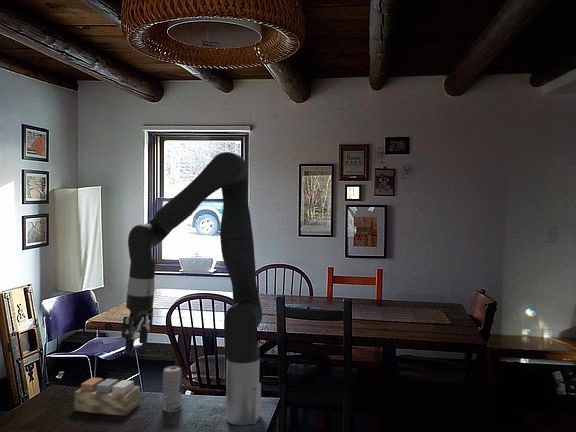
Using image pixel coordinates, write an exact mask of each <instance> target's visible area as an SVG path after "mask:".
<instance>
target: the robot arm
mask: <svg viewBox="0 0 576 432" xmlns="http://www.w3.org/2000/svg"><path fill="white" fill-rule="evenodd" d="M248 176H249V175H248V166H247V162H246V160H245V159H244V157H242V156H240V155H238V154H237V153H234V152H232V151H223V152H220V153H217V154H216V155H214V157H213V158H212V159H211V160H210V162H209V163H208V164H207V165H206V166H205V167H204V168H203V170H202V171H201V172H200V173H198V175H197V176H196V177H195V178H194V179H193V180H192V181H191V182H190V183H189V184H188V185H187V186H185V187H184V188H183V189H182V190H181V191H179V192H178V193H177V194H176V195H175V196H173V197H172V198H171V199H170V200H169V201H167V202H166V203H165V204H163V206H161V207H160V208H159V209H158V210H157V211H156V212H155V213H154V217H153V218H152V219H151V220H149V221H148V222H147V223H144V224H143V223H142V224H136V225H135V226H134V227H132V228H131V230H130V231H129V234H128V239H127V246H128V247H127V248H128V255H129V260H130V266H129V276H128V277H129V278H128V282H127V292H126V303H125V309H128V310H129V311H130V312H129V316H126V315H124V316H123V318H122V326H121V327H122V329H121V338H122V339H125V345H124V350H125V352H128V353H132V352H134V348H135V347H134V345H135V337H136V334H137V333H139V340H138V341H139V342H138V343H139V344H142V345H146V344H147V343H148V332H149V331H150V329H151V328H152V327H153V318H154V296H155V287H156V286H155V276H156V275H155V273H156V260H155V259H154V258H153V257H152V248H154V247H156V246H157V245H159V244H160V243H161V242H163V240H165V239H166V237H168V235H169V234H170V233H171V232H172V231H173V230H174V229H176V228H177V227H178V226H179V225H181V224H182V223H183V222H185V221H186V220H187V219H188V218H189V217H190V216H192V215H193V214H194V213H195V211H196V210H197V209H198V208H199V206H201V204H202V203H203V202H204V201H205V200H206V199H207V198H208V197H210V196H211V195H212V194H214V193H215V192H216V191H218V190H220V189H221V195H222V202H223V203H222V214H221V220H220V228H219V229H220V230H219V235H220V237H219V238H220V249H221V255H222V260H223V262H224V266H225V269H226V271H227V273H228V276H229V278H230V282H231V287H232V288H231V289H232V305H231V306H230V307H229V308H228V309H227V310H226V312H225V315H224V319H223V320H224V321H223V334H224V335H223V337H224V339H223V341H224V343H223V344H224V349H225V353H226V372H225V373H226V377H225V378H226V380H225V383H226V384H225V385H226V387H225V388H226V389H225V390H226V391H225V392H226V393H225V398H226V399H225V407H226V408H225V420H226V422H227V423H229V424H232V425H235V426H249V425H257V423H258V421H259V419H260V418H261V416H262V413H261V411H262V409H261V407H262V382H260V348H259V347H258V344H257V339H258V338H257V329H258V327H259V326H260V324H261V323H262V320H263V311H262V305H261V300H260V295H259V290H258V284H257V277H256V275H257V274H256V273H257V272H256V271H257V270H256V269H257V268H256V260H255V259H256V258H255V245H254V234H253V228H252V227H253V226H252V220H251V213H250V206H249V195H248V193H249V191H248V178H249V177H248Z"/></svg>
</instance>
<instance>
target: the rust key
mask: <svg viewBox="0 0 576 432" xmlns="http://www.w3.org/2000/svg"><path fill="white" fill-rule="evenodd" d="M103 381H104V378H102V377H91V378H88V379H87V380H86V381H84V382H82V383H81V385H80V388H81V391H85V392H94V391H95V390H97V385H98V384H100V383H101V382H103Z"/></svg>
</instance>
